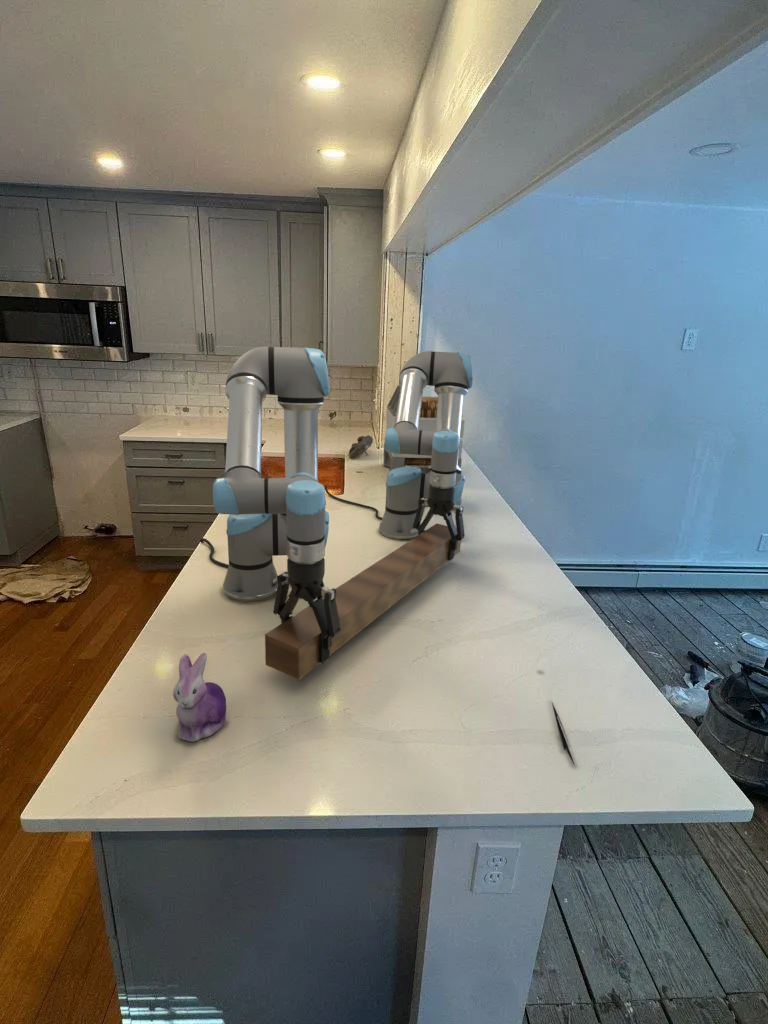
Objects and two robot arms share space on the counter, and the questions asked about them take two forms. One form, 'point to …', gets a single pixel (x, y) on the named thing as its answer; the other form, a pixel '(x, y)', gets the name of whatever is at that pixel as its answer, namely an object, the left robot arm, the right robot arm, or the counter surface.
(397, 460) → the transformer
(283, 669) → the long beam
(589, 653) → the counter surface
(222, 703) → the figurine
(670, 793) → the counter surface
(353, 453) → the fossil
